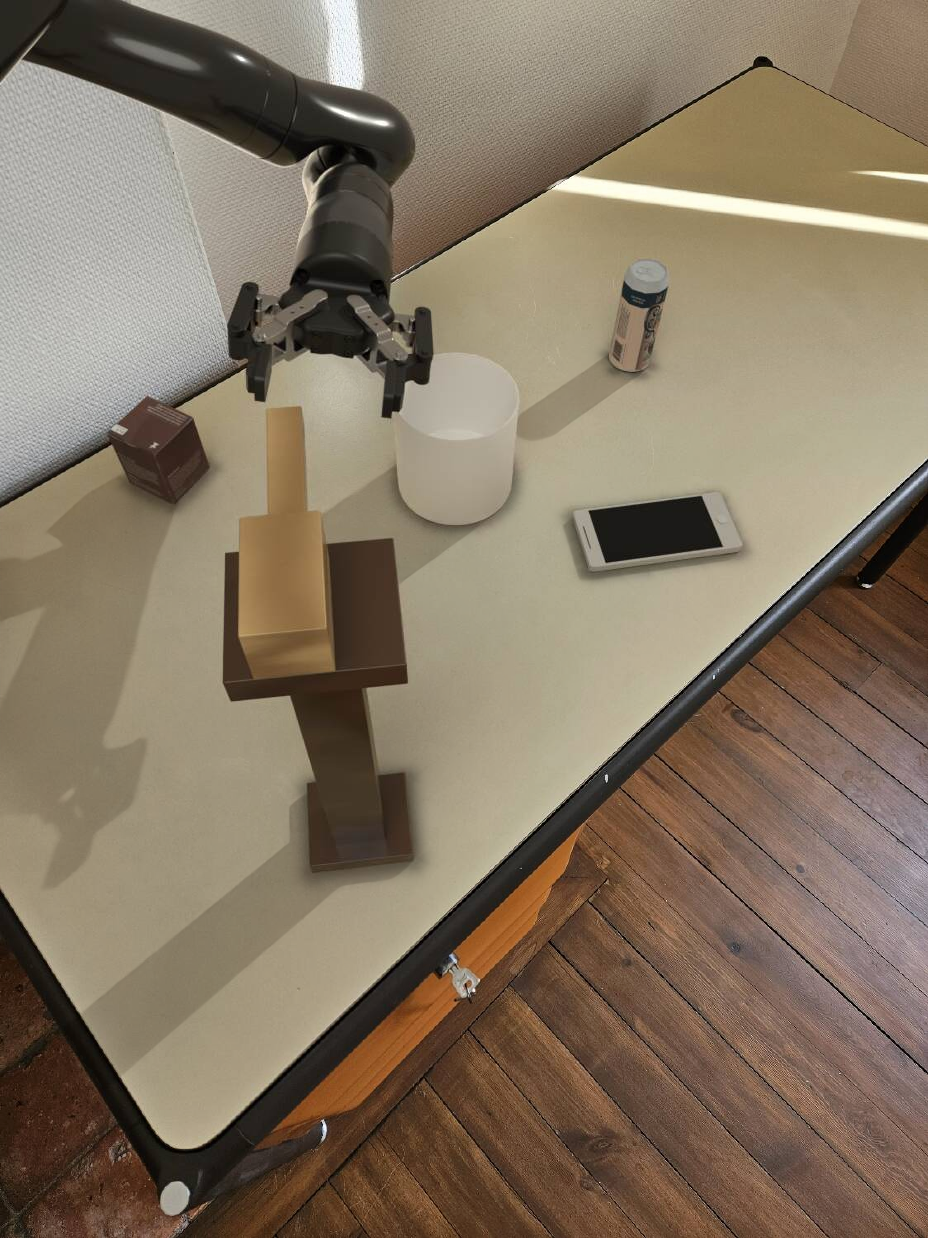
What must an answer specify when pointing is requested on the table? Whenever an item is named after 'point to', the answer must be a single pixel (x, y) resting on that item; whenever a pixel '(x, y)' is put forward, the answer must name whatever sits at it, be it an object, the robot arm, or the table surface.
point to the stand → (342, 708)
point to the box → (159, 449)
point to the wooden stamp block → (285, 565)
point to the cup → (457, 440)
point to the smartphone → (656, 531)
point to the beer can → (639, 314)
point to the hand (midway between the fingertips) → (324, 400)
